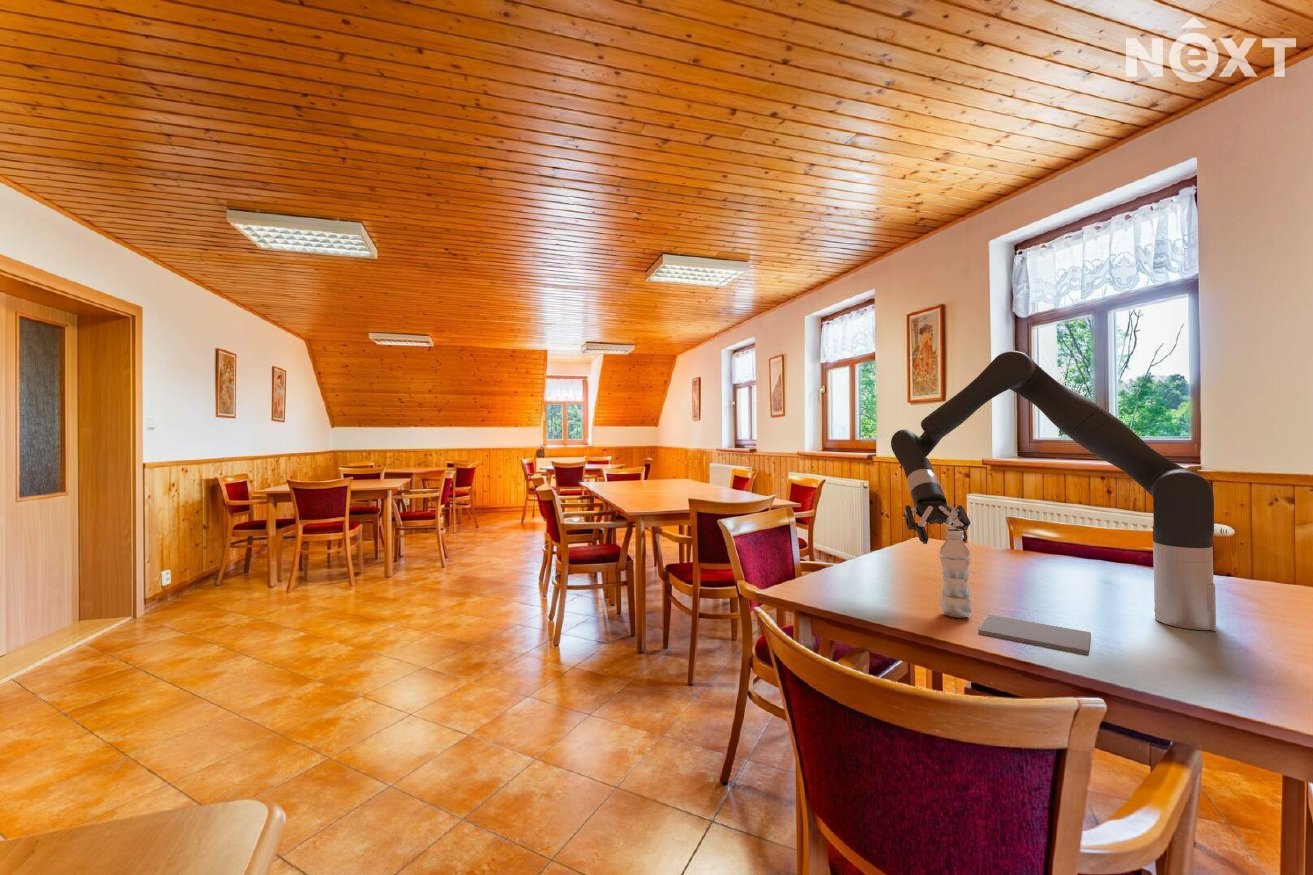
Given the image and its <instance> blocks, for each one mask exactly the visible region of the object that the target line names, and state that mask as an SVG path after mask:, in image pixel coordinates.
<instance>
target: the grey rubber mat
mask: <svg viewBox="0 0 1313 875" xmlns="http://www.w3.org/2000/svg"><path fill="white" fill-rule="evenodd" d="M978 634H979V635H984V636H990V637H995V638H1000V639H1004V640H1005V639H1006V640H1010V641H1015V642H1020V643H1025V642H1026V643H1025V644H1031V645H1035V646H1036V645H1037V646H1041V647H1045V648H1050V649H1051V648H1052V649H1057V650H1061V651H1067V652H1071V653H1075V654H1081V655H1087V656H1088V655H1089V654H1090V653H1089V652H1090V647H1091V646H1090V645H1091V638H1092V632H1091V631H1086V630H1079V629H1075V628H1074V629H1073V628H1069V627H1068V628H1067V627H1062V626H1057V625H1050V624H1046V623H1038V622H1034V621H1029V620H1028V621H1027V620H1022V619H1015V618H1010V617H1005V616H999V615H994V614H988V615H987V617H986V618H985V620H984V621H983V622H982V624H981V626H980V627H979V629H978Z"/></svg>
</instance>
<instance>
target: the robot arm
mask: <svg viewBox="0 0 1313 875" xmlns="http://www.w3.org/2000/svg"><path fill="white" fill-rule="evenodd" d="M1008 390H1010V391H1013V393H1015V394H1018V395H1019V396H1020V397H1022V398H1024V399H1025V400H1027V401H1029V402H1030V403H1032V404H1033V405H1034V406H1036V408H1037V409H1039V410H1040V412H1042V413H1043V414H1044V416H1045V417H1046V418H1048V420H1049V421H1050V422H1051V423H1052V424H1053V425H1054V426H1055V427H1056V428H1057V429H1058V430H1060V431H1061V432H1062V433H1063V434H1065V435H1066V436H1067V437H1068V438H1070V439H1072V441H1074V442H1075V443H1077V444H1078V445H1079V446H1081V447H1082V448H1083V449H1085V450H1087V451H1088V452H1090V453H1091V454H1094V456H1097V457H1098V458H1100V459H1102V460H1103V461H1105V462H1106V463H1109V464H1111V465H1112V466H1115V467H1116V468H1118V469H1119V470H1121V471H1123V472H1124V473H1125V474H1127V475H1128V476H1129V477H1130V478H1131V479H1132V480H1134V482H1136V483H1137V484H1138V485H1139V486H1141V487H1142V488H1143V490H1145V491H1146V492H1147V493H1148V494H1149V495H1150V496H1151V497H1152V507H1153V508H1152V510H1153V512H1152V514H1153V524H1152V550H1153V551H1152V556H1153V557H1152V558H1153V561H1152V562H1153V591H1154V592H1153V594H1154V596H1153V598H1154V599H1153V600H1154V601H1153V602H1154V607H1153V609H1154V610H1153V611H1154V619H1155V621H1158V622H1160V623H1162V624H1164V625H1169V626H1171V627H1172V626H1173V627H1176V628H1181V629H1187V630H1195V631H1213V632H1217V604H1216V603H1217V602H1216V601H1217V600H1216V585H1215V583H1214V553H1213V551H1214V547H1213V546H1214V545H1213V541H1214V540H1213V539H1214V534H1215V497H1214V496H1215V495H1214V490H1213V487H1212V485H1211V484H1210V482H1209V481H1208V480H1207V479H1206V478H1205V477H1204V476H1202V475H1200V474H1198V473H1195V471H1191V470H1189V469H1187V468H1185V467H1183V466H1181V465H1180V464H1178V463H1176V462H1175V461H1172V460H1171V459H1169V458H1167V457H1166V456H1164V455H1162V454H1161V453H1159V452H1157V451H1156V450H1155V449H1153V448H1152V447H1151V446H1150V445H1148V444H1147V443H1146V442H1145V441H1144V440H1143V439H1142V438H1141V437H1140V436H1139V435H1137V433H1136V432H1134V431H1133V430H1132V429H1131V428H1130V427H1129V426H1128V425H1126V424H1125V423H1124V422H1123V421H1121V419H1119V418H1118V417H1117V416H1115V415H1114V414H1112V413H1111V412H1109V410H1107V409H1105V408H1104V407H1102V406H1101V405H1099V404H1097V403H1095V402H1094V401H1093V400H1091V399H1090V398H1088V397H1086V396H1084V395H1082V394H1081V393H1079V392H1077V391H1074V390H1073V389H1071V388H1069V387H1068V386H1065V385H1064V384H1062V383H1060V382H1059V381H1058V380H1056V379H1055V378H1053V376H1051V375H1050V374H1049V373H1048V372H1046V371H1045V370H1044V369H1043V368H1042V367H1040V366H1039V365H1038V364H1037V363H1036V362H1035V361H1034V359H1032V358H1031V357H1030V356H1029V355H1027V354H1026V353H1024V352H1021V351H1017V350H1008V351H1005V352H1002V353H1000V354H998V355H997V356H995V358H994V359H993V360H991V362H990V363H989V364H988V365H987V366H986V367H985V369H984V370H982V372H980V374H979V375H977V377H976V378H974V379H973V380H972V381H971V382H970V383H968V385H967V386H966V387H964V388H963V389H962V390H960V391H959V392H957V393H956V394H955V395H953V396H952V397H951V398H949V400H947V401H946V402H944V403H943V404H941V405H940V406H939V407H937V408H936V409H935V410H933V411H932V412H931V413H929V414H928V415H927V416H925V417H924V418H923V419H922V420H921V421H920V426H921V429H922V431H923V432H922V434H921V435H917V434H916V433H914V432H913V431H911V430H909V429H899V430H898V431H896V432H895V433H893V435H892V437H891V440H890V446H891V451H892V452H893V454H894V456H895V458H896V460H897V461H898V463H899V464H900V465H901V467H902V469H903V472H904V475H905V478H906V481H907V487H908V492H909V494H910V496H911V499H912V501H913V505H914V507H911V506H910V504H909V505H908V504H907V505H905V507H904V510H903V515H904V521H905V525H906V528H907V530H909V531H912V530H913V531H916V534H917V536H918V539H919V541H920V542H921V543H922V544H923V545H927V544H928V542H929V537H928V534H927V530H926V527H925V525H926V524H929V525H934V524H936V525H937V524H938V525H943V524H944V525H945V526H946V527H948V528H950V529H961V530H963V536H964V539H963V542H964V543H965V544H966V542H967V540H968V535H967V533H966V531H967V530H968V529H969V527H970V525H971V521H970V518H969V516H968V514H967V513H966V510H965V509H964V506H963V505H961V504H959V505H957V506H956V507H951V506H950V505H949V504H948V502H947V498H946V495H945V493H944V490H943V488H942V486H941V483H940V481H939V478H938V477H937V475H936V473H935V470H934V468H933V466H932V463H931V461H930V460H929V458H928V456H929V454H931V452H932V451H933V450H934V449H935V447H936V446H937V445H939V443H940V441H941V440H942V439H943V438H944V437H945V436H947V435H948V434H951V432H952V431H954V430H955V429H957V428H958V427H960V425H962V424H963V423H965V421H967V420H968V419H969V418H970V417H971V416H972V415H973V414H974V413H976V411H978V409H980V408H981V407H982V406H984V405H985V404H986V403H988V402H989V401H991V400H992V399H993V398H995V397H997V396H999V395H1001V394H1003V393H1004V392H1006V391H1008ZM914 515H917V516H918V517H919V518H920V520H919V521H918V522H915V519H914ZM948 519H949V520H948Z"/></svg>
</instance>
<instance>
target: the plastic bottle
mask: <svg viewBox="0 0 1313 875" xmlns="http://www.w3.org/2000/svg"><path fill="white" fill-rule="evenodd" d="M944 538H946V540H945V541H944V542H943V543H942V545H941V547H939V558H940V563H941V564H940V565H941V570H942V571H941V572H942V573H941V574H942V588H941V589H942V591H941V593H942V594H941V595H940V607H941V611H942V612H943V614H945V615H946V616H948V617H952V618H964V619H965V618H969V617H970V616H971V615H972V613H973V602H972V599H971V594H970V582H969V579H970V578H969V576H970V564H971V558H972V557H971V556H972V554H971V550H970V549H969V547H968V545H967V544H966V542H965V543H964V542H963V539H964V536H963V530H961V529H953V528H945V537H944Z"/></svg>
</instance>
